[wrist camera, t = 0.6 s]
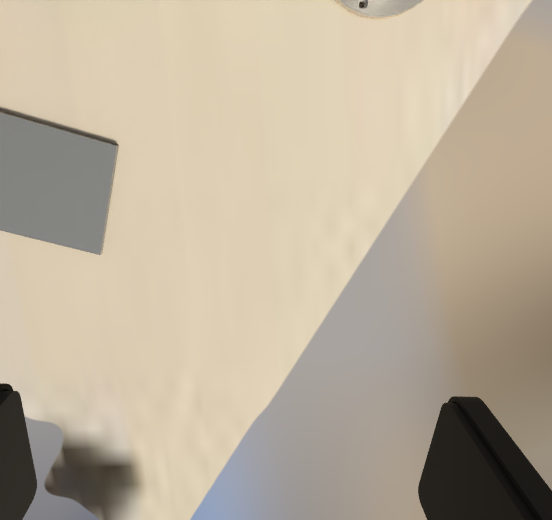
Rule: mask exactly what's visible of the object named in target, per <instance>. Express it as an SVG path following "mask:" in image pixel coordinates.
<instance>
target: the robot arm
mask: <svg viewBox="0 0 552 520" xmlns="http://www.w3.org/2000/svg"><path fill="white" fill-rule="evenodd" d="M422 1H423V0H336V2H337V3H338V4H340V5H341V6H343V7H344V8H345V9H347V10H348V11H350V12H352V13H354V14H357V15H359V16H362V17H367V18H372V19H378V18H389V17H393V16H397V15H400V14H402V13H404V12H406V11H408V10H410V9H412V8H413V7H415V6H416V5H418V4H419V3H421V2H422ZM360 2H362V3H363V8H360V7H359V3H360ZM36 488H37V480H36V474H35V469H34V464H33V459H32V454H31V449H30V444H29V438H28V433H27V428H26V423H25V418H24V413H23V407H22V402H21V397H20V394H19V393H18V392H17V391H13V389H12V387H11V386H10V385H9V384H0V520H22V519H23V517H24V515H25V513H26V512H27V510H28V508H29V506H30V504H31V503H32V501H33V499H34V496H35V493H36ZM418 493H419V499H420V503H421V506H422V508H423V510H424V513H425V515H426V518H427V520H552V491H551V489H550V488H549V487H548V485H547V484H546V483H545V481H544V480H543V479H542V478H541V476H540V475H539V474H538V472H537V471H536V470H535V468H534V467H533V466H532V464H531V463H530V462H529V461H528V459H527V458H526V457H525V455H524V454H523V453H522V452H521V450H520V449H519V448H518V446H517V445H516V444H515V442H514V441H513V440H512V438H511V437H510V436H509V435H508V433H507V432H506V431H505V429H504V428H503V427H502V425H501V424H500V423H499V421H498V420H497V419H496V418H495V416H494V415H493V414H492V413H491V411H490V410H489V408H488V407H487V406H486V405H485V403H484V402H483V401H482V400H481V399H480V398H478V397H451V398H450V399H449V401H448V403H444V404H443V405H442V407H441V411H440V414H439V417H438V421H437V424H436V428H435V431H434V435H433V438H432V441H431V445H430V448H429V452H428V455H427V459H426V462H425V466H424V469H423V472H422V476H421V480H420V483H419V487H418Z"/></svg>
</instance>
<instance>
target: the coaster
mask: <svg viewBox="0 0 552 520" xmlns="http://www.w3.org/2000/svg"><path fill="white" fill-rule="evenodd" d="M118 146H119V145H115V144H112V143H108V142H105V141H101V140H98V139H95V138H91V137H88V136H84V135H81V134H77V133H74V132H70V131H67V130H64V129H60V128H57V127H53V126H50V125H46V124H43V123H39V122H36V121H32V120H29V119H26V118H22V117H19V116H15V115H12V114H8V113H5V112H1V111H0V230H1V231H5V232H9V233H13V234H17V235H21V236H25V237H29V238H33V239H38V240H42V241H46V242H50V243H54V244H58V245H62V246H66V247H70V248H74V249H78V250H82V251H86V252H90V253H94V254H98V255H101V254H102V250H103V243H104V237H105V230H106V224H107V217H108V211H109V204H110V198H111V191H112V185H113V178H114V172H115V165H116V159H117V152H118Z"/></svg>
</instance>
